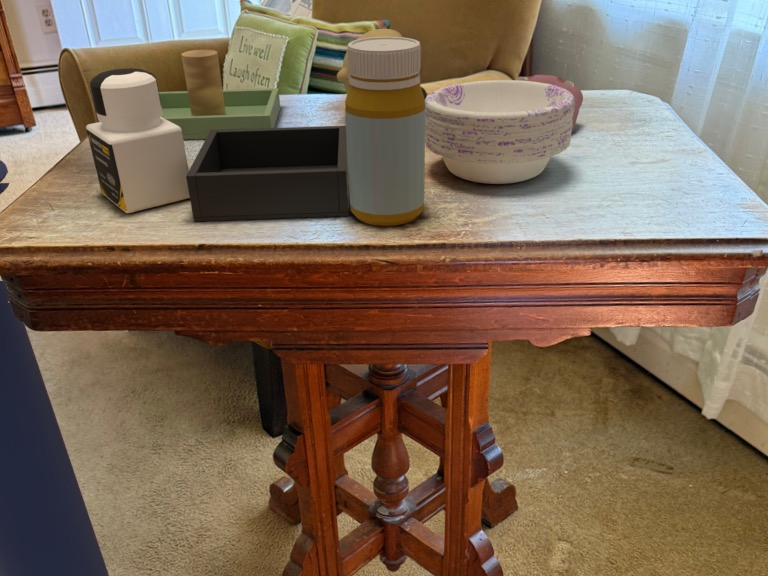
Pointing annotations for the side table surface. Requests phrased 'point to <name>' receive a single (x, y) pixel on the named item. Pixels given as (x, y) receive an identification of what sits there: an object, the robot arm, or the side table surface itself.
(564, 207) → the side table surface
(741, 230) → the side table surface
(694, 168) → the side table surface
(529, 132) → the paper bowls
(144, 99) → the medicine bottle
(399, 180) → the bottle
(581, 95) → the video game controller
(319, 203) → the bin
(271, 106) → the tray
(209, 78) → the brown wooden cylinder
